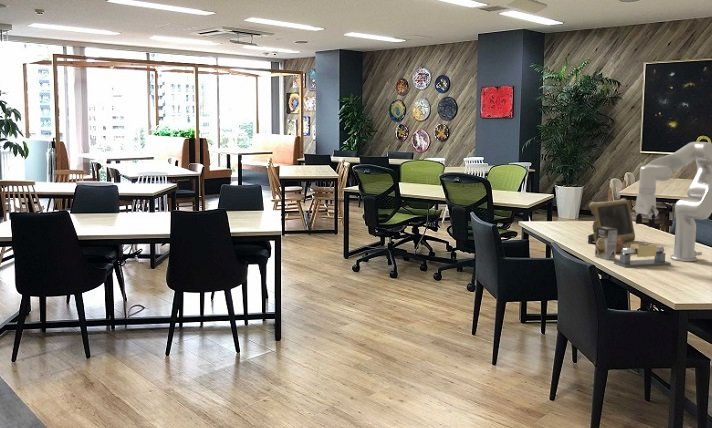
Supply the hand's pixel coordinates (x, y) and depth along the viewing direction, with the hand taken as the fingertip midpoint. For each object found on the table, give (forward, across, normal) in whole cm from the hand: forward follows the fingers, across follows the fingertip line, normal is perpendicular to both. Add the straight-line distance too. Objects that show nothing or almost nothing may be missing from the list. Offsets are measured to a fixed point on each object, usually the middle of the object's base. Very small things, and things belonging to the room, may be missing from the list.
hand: (644, 225), depth 328 cm
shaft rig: (+20, 0, 0) cm, 20 cm away
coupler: (+15, 0, 0) cm, 15 cm away
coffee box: (+20, -18, -9) cm, 28 cm away
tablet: (+20, -57, +20) cm, 64 cm away
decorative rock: (+20, -32, +5) cm, 38 cm away
